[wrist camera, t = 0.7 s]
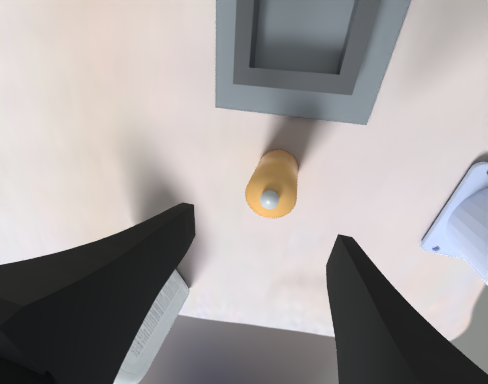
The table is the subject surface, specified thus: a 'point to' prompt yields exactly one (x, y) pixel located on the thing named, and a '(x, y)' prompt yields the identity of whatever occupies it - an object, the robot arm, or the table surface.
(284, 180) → the tan capped bottle
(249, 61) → the housing
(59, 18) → the table surface
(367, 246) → the table surface
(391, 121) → the table surface
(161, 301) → the white wifi router
